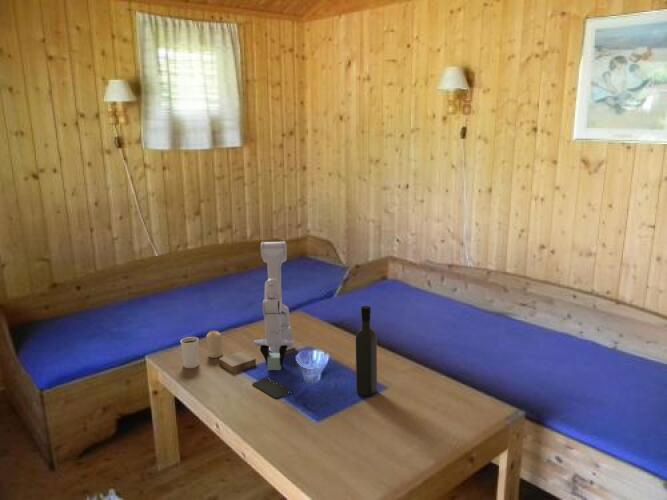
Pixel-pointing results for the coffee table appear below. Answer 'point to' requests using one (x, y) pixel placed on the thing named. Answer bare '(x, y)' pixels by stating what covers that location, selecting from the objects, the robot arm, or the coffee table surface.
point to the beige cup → (190, 352)
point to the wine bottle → (366, 356)
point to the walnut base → (237, 361)
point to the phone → (271, 388)
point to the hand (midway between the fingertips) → (274, 364)
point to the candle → (214, 344)
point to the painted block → (273, 361)
